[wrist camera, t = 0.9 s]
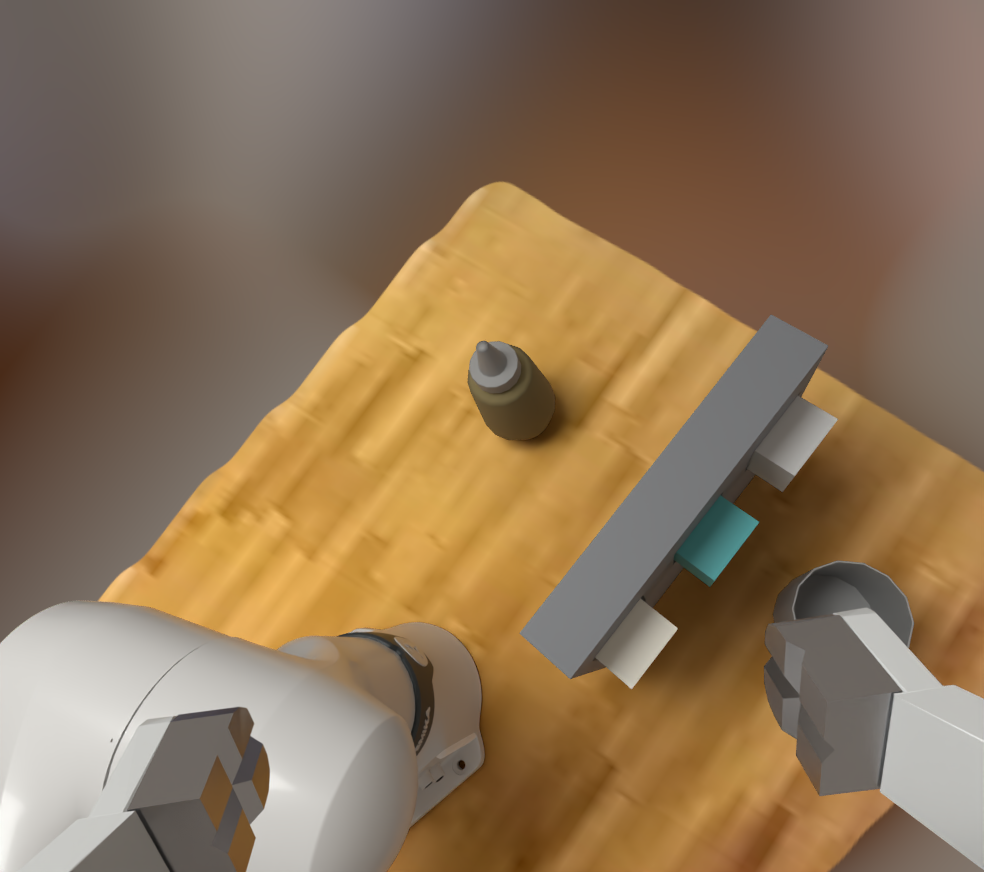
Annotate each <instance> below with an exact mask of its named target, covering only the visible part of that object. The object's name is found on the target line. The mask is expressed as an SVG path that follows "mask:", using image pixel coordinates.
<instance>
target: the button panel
mask: <svg viewBox="0 0 984 872" xmlns="http://www.w3.org/2000/svg"><path fill="white" fill-rule="evenodd" d="M827 348H828V345H826V344H824V343H822V342H820V341H818V340H817V339H815V338H813V337H811V336H809V335H808V334H805V333H804V332H802V331H800V330H798V329H797V328H795V327H793V326H791V325H789V324H787V323H786V322H784V321H782V320H780V319H778V318H776V317H775V316H773V315H770V317H769V318H768V319H767V320H766V322H765V323H764V324H763V325H762V327H761V328H760V329H759V331H758V332H757V333H756V334H755V336H754V337H753V338H752V339H751V341H750V342H749V343H748V344H747V346H746V347H745V348H744V349H743V351H742V352H741V353H740V355H739V356H738V357H737V358H736V360H735V361H734V362H733V363H732V365H731V366H730V367H729V368H728V370H727V371H726V372H725V374H724V375H723V376H722V377H721V379H720V380H719V381H718V382H717V384H716V385H715V386H714V387H713V389H712V390H711V391H710V393H709V394H708V395H707V396H706V398H705V399H704V400H703V401H702V403H701V404H700V405H699V406H698V408H697V409H696V410H695V412H694V413H693V414H692V415H691V417H690V418H689V419H688V420H687V422H686V423H685V424H684V425H683V427H682V428H681V429H680V431H679V432H678V433H677V434H676V436H675V437H674V438H673V439H672V441H671V442H670V443H669V445H668V446H667V447H666V448H665V450H664V451H663V452H662V453H661V455H660V456H659V457H658V458H657V460H656V461H655V462H654V464H653V465H652V466H651V467H650V469H649V470H648V471H647V472H646V474H645V475H644V476H643V477H642V479H641V480H640V481H639V483H638V484H637V485H636V486H635V488H634V489H633V490H632V491H631V493H630V494H629V495H628V496H627V498H626V499H625V500H624V502H623V503H622V504H621V505H620V507H619V508H618V509H617V510H616V512H615V513H614V514H613V515H612V517H611V518H610V519H609V521H608V522H607V523H606V524H605V526H604V527H603V528H602V529H601V531H600V532H599V533H598V534H597V536H596V537H595V538H594V540H593V541H592V542H591V543H590V545H589V546H588V547H587V548H586V550H585V551H584V552H583V554H582V555H581V556H580V557H579V559H578V560H577V561H576V562H575V564H574V565H573V566H572V567H571V569H570V570H569V571H568V573H567V574H566V575H565V576H564V578H563V579H562V580H561V581H560V583H559V584H558V585H557V586H556V588H555V589H554V590H553V592H552V593H551V594H550V595H549V597H548V598H547V599H546V600H545V602H544V603H543V604H542V605H541V607H540V608H539V609H538V611H537V612H536V613H535V614H534V616H533V617H532V618H531V619H530V621H529V622H528V623H527V624H526V626H525V627H524V628H523V630H522V631H521V632H520V634H521V635H522V636H523V637H524V638H525V639H526V640H527V641H529V642H530V643H531V644H532V645H533V646H534V647H535V648H536V649H537V650H539V651H540V652H541V653H542V654H543V655H544V656H545V657H546V658H547V659H548V660H550V661H551V662H552V663H553V664H554V665H555V666H556V667H557V668H558V669H560V670H561V671H562V672H563V673H564V674H565V675H566V676H567V677H568V678H570V679H572V678H575V677H578V676H581V675H584V674H587V673H590V672H593V671H596V670H599V669H602V668H605V667H606V666H604V665H603V664H602V663H601V662H600V661H599V660H598V659H596V658H595V657H596V655H597V654H598V653H599V651H600V650H601V649H602V648H603V646H604V645H605V644H606V642H607V641H608V640H609V638H610V637H611V636H612V635H613V633H614V632H615V631H616V629H617V628H618V627H619V626H620V624H621V623H622V622H623V620H624V619H625V618H626V617H627V615H628V614H629V613H630V611H631V610H632V609H633V608H634V606H635V605H636V604H637V602H638V601H639V600H640V598H641V599H642V600H643V601H644V602H646V603H647V604H648V605H649V606H651V607H652V608H653V607H654V606H655V604H656V603H657V602H658V600H659V599H660V598H661V597H662V595H663V594H664V593H665V591H666V590H667V589H668V587H669V586H670V585H671V584H672V582H673V581H674V580H675V578H676V577H677V576H678V575H679V573H680V572H681V571H682V569H683V568H684V567H683V566H681V565H680V564H679V563H677V562H676V561H675V560H674V555H675V553H676V552H677V551H678V549H679V548H680V547H681V546H682V544H683V543H684V542H685V540H686V539H687V538H688V536H689V535H690V534H691V533H692V531H693V530H694V529H695V527H696V526H697V525H698V524H699V522H700V521H701V520H702V518H703V517H704V516H705V515H706V513H707V512H708V511H709V509H710V508H711V507H712V505H713V504H714V503H715V502H716V500H717V499H718V498H719V496H720V495H721V496H722V497H724V498H725V499H726V500H728V501H729V502H731V503H732V504H733V503H734V502H735V501H736V499H737V498H738V497H739V495H740V494H741V493H742V492H743V490H744V489H745V488H746V486H747V485H748V484H749V482H750V481H751V480H752V479H753V477H754V476H755V475H756V474H754V473H753V472H751V471H750V470H748V469H747V466H748V464H749V461H750V459H751V457H752V455H753V453H754V451H755V450H756V449H757V447H758V446H759V445H760V443H761V442H762V441H763V440H764V438H765V437H766V436H767V434H768V433H769V432H770V431H771V429H772V428H773V427H774V425H775V424H776V423H777V422H778V420H779V419H780V418H781V416H782V415H783V414H784V413H785V411H786V410H787V409H788V407H789V406H790V405H791V403H792V402H793V401H794V400H795V398H796V397H797V396H799V397H801V396H802V394H803V393H804V391H805V389H806V387H807V385H808V383H809V381H810V379H811V378H812V376H813V374H814V372H815V370H816V368H817V366H818V365H819V363H820V361H821V359H822V357H823V355H824V353H825V351H826V350H827Z"/></svg>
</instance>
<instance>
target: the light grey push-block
mask: <svg viewBox="0 0 984 872" xmlns="http://www.w3.org/2000/svg"><path fill="white" fill-rule="evenodd" d="M837 420H838V419H837V418H835V417H833V416H832V415H830V414H828V413H827V412H825V411H823V410H822V409H820V408H818V407H816V406H815V405H813V404H811V403H810V402H808V401H806V400H805V399H803V398H801V397H799V396H797V397H796V398H795V400H794V401H793V402H792V403H791V405H790V406H789V407H788V409H787V410H786V411H785V413H784V414H783V415H782V416H781V418H780V419H779V420H778V422H777V423H776V424H775V425H774V427H773V428H772V429H771V431H770V432H769V433H768V434H767V436H766V437H765V438H764V440H763V441H762V442H761V443H760V445H759V446H758V447H757V449H756V450H755V451H754V453H753V455H752V457H751V459H750V461H749V464H748V466H747V469H748V470H750V471H751V472H753V473H754V474H756V475H757V476H759V477H760V478H762V479H763V480H765V481H766V482H768V483H769V484H771V485H772V486H774V487H775V488H777V489H778V490H780V491H782V492H783V491H784V490H785V488H786V487H787V486H788V484H789V483H790V482H791V480H792V479H793V478H794V477H795V475H796V474H797V473H798V471H799V470H800V469H801V467H802V466H803V465H804V463H805V462H806V461H807V460H808V458H809V457H810V456H811V454H812V453H813V452H814V450H815V449H816V448H817V446H818V445H819V444H820V443H821V441H822V440H823V439H824V437H825V436H826V435H827V433H828V432H829V431H830V429H831V428H832V427H833V425H834V424H835V423H836V421H837Z"/></svg>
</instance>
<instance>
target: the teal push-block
mask: <svg viewBox="0 0 984 872" xmlns="http://www.w3.org/2000/svg"><path fill="white" fill-rule="evenodd" d="M758 523H759V522H758V521H757V520H756V519H754V518H753V517H751V516H750V515H748V514H747V513H745V512H744V511H742V510H741V509H740V508H738V507H737V506H735V505H734V504H732V503H731V502H729V501H728V500H726V499H725V498H724V497H722V496H721V495H720V496H719V498H718V499H717V500H716V502H715V503H714V504H713V505H712V507H711V508H710V509H709V511H708V512H707V513H706V515H705V516H704V517H703V518H702V520H701V521H700V522H699V524H698V525H697V526H696V527H695V529H694V530H693V531H692V533H691V534H690V535H689V536H688V538H687V539H686V540H685V542H684V543H683V544H682V546H681V547H680V548H679V549H678V551H677V552H676V553H675V555H674V560H675V561H676V562H677V563H679V564H680V565H681V566H683V567H684V568H685V569H687V570H688V571H689V572H691V573H692V574H693V575H695V576H696V577H697V578H699V579H700V580H701V581H702V582H704V583H705V584H706V585H708V586H709V587H710V586H711V585H712V584H713V582H714V581H715V580H716V579H717V577H718V576H719V575H720V573H721V572H722V571H723V569H724V568H725V567H726V565H727V564H728V563H729V562H730V560H731V559H732V558H733V556H734V555H735V554H736V552H737V551H738V550H739V548H740V547H741V546H742V545H743V543H744V542H745V541H746V539H747V538H748V537H749V535H750V534H751V533H752V531H753V530H754V529H755V527H756V526H757V525H758Z"/></svg>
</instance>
